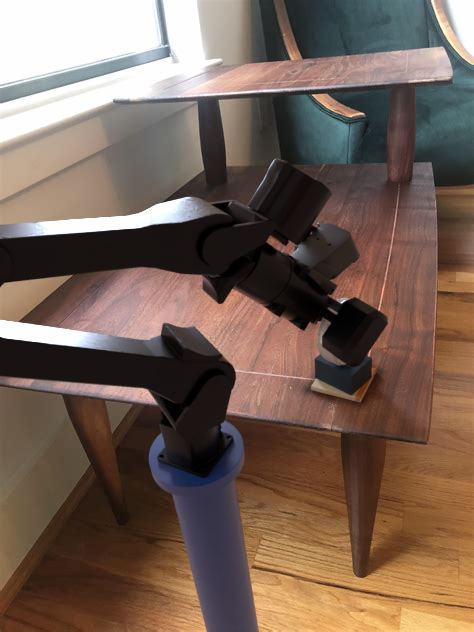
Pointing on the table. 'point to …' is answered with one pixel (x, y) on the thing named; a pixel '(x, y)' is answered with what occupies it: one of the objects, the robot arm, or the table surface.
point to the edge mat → (331, 390)
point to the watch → (339, 365)
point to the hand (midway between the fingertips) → (352, 329)
